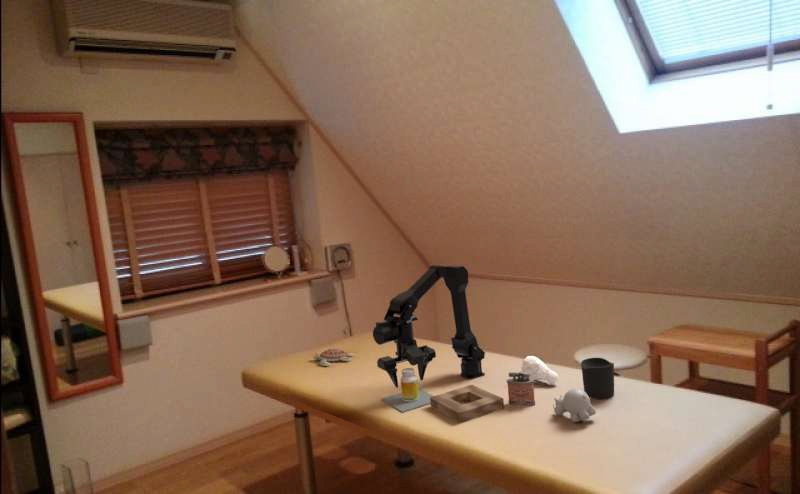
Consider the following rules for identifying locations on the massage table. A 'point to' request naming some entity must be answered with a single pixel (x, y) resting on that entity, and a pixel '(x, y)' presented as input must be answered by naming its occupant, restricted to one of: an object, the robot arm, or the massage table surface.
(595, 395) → the pen holder
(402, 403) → the mat
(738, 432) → the massage table surface
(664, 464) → the massage table surface
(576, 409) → the round bodied animal figurine
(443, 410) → the pocket block
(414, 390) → the supplement bottle
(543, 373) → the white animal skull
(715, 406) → the massage table surface
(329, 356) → the decorative turtle
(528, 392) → the lighter
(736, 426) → the massage table surface
